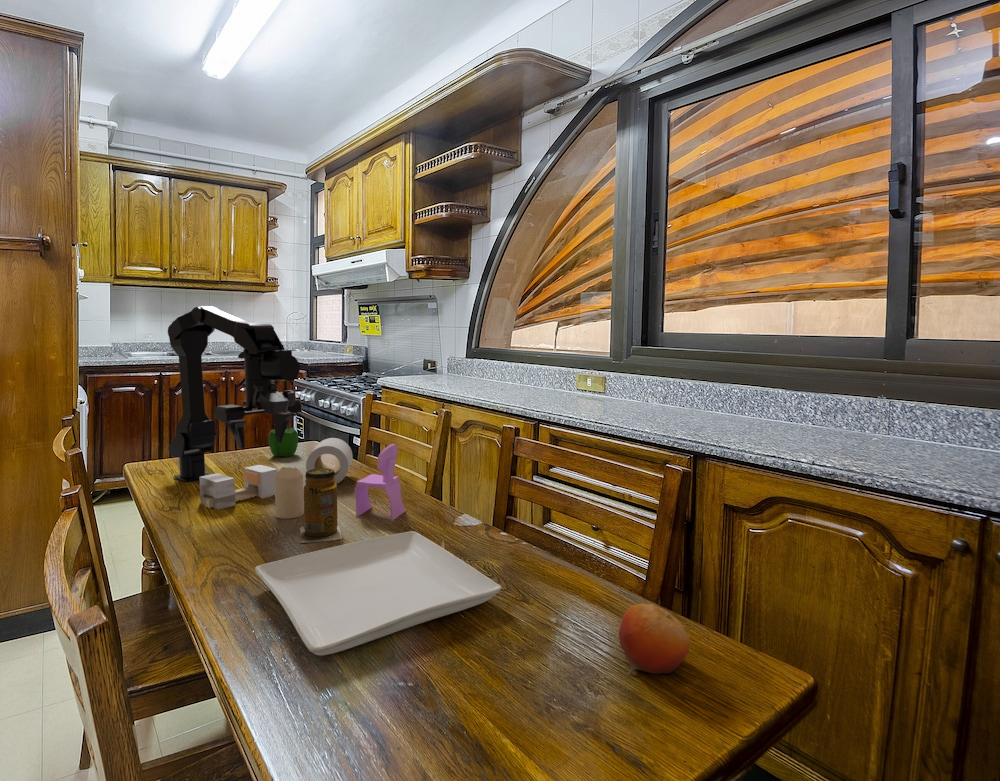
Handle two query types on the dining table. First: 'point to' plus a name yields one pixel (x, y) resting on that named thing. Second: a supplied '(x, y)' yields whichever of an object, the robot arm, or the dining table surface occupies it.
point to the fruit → (652, 639)
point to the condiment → (320, 507)
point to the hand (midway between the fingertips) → (261, 446)
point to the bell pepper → (284, 443)
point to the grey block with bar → (222, 491)
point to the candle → (289, 493)
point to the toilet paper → (334, 448)
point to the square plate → (372, 589)
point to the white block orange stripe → (261, 479)
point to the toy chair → (381, 484)
